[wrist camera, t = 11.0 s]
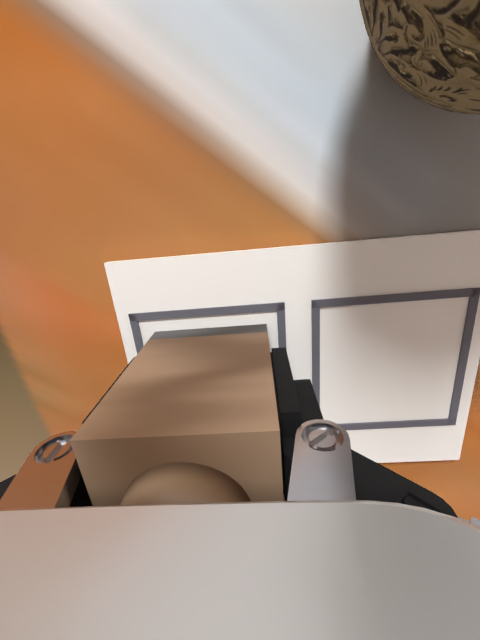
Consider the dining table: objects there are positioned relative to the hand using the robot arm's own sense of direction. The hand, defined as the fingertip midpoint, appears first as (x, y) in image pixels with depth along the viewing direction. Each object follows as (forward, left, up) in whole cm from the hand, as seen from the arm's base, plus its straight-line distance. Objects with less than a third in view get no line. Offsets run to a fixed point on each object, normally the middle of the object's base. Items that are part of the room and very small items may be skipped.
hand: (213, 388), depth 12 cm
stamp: (0, 0, -1) cm, 1 cm away
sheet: (-3, 0, -1) cm, 4 cm away
